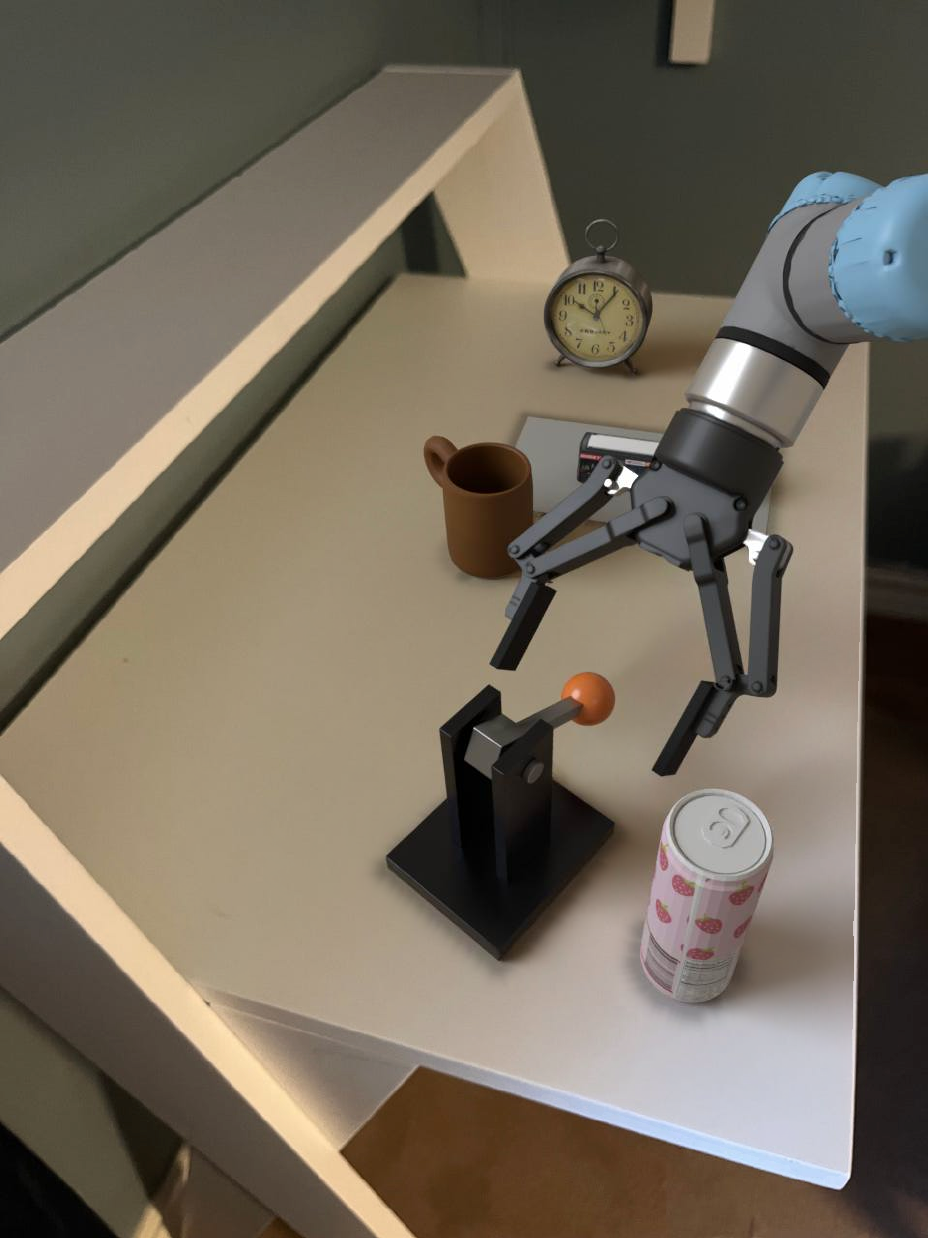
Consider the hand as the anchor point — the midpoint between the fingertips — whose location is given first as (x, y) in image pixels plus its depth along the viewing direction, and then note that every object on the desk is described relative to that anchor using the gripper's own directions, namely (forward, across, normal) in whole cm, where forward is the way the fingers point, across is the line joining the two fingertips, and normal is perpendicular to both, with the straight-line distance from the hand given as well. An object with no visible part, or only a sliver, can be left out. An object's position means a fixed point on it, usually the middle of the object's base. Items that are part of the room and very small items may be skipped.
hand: (578, 718), depth 65 cm
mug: (-5, +22, -15) cm, 27 cm away
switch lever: (+2, 0, +4) cm, 5 cm away
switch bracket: (+10, 0, +1) cm, 10 cm away
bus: (-17, +17, -26) cm, 36 cm away
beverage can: (+9, -14, 0) cm, 17 cm away
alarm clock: (-26, +32, -36) cm, 54 cm away
